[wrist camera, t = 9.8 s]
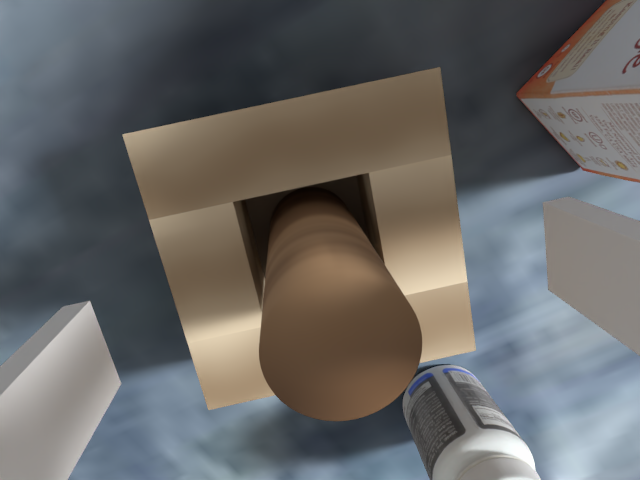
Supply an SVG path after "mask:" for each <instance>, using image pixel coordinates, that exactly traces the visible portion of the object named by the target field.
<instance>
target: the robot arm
mask: <svg viewBox="0 0 640 480" xmlns="http://www.w3.org/2000/svg"><path fill="white" fill-rule="evenodd" d="M543 212H544V227H545V243H546V259H547V275H548V290H549V291H551V292H552V293H554V294H555V295H556V296H558V297H559V298H561V299H562V300H563V301H565V302H566V303H567V304H569V305H570V306H572V307H573V308H574V309H576V310H577V311H579V312H580V313H581V314H583V315H584V316H585V317H587V318H588V319H590V320H591V321H592V322H594V323H595V324H596V325H598V326H599V327H601V328H602V329H603V330H605V331H606V332H608V333H609V334H610V335H612V336H613V337H614V338H616V339H617V340H619V341H620V342H621V343H623V344H624V345H626V346H627V347H628V348H630V349H631V350H632V351H634V352H635V353H637V354H638V355H639V356H640V221H638V220H635V219H632V218H629V217H626V216H623V215H620V214H617V213H615V212H612V211H609V210H606V209H603V208H600V207H597V206H594V205H592V204H589V203H586V202H583V201H580V200H577V199H574V198H571V197H565V198H561V199H556V200H551V201H547V202H543ZM120 385H121V381H120V379H119V376H118V374H117V371H116V368H115V366H114V363H113V360H112V358H111V355H110V352H109V350H108V347H107V345H106V342H105V339H104V337H103V334H102V331H101V329H100V326H99V323H98V321H97V318H96V316H95V313H94V310H93V308H92V305H91V302H90V301H86V302H81V303H77V304H72V305H67V306H63V307H62V308H61V309H60V310H59V311H58V312H57V313H56V314H55V315H54V316H53V317H51V318H50V319H49V320H48V321H47V322H46V323H45V324H44V325H43V326H42V327H41V328H40V329H39V330H38V331H37V332H36V333H35V334H34V335H33V336H32V337H31V338H29V339H28V340H27V341H26V342H25V343H24V344H23V345H22V346H21V347H20V348H19V349H18V350H17V351H16V352H15V353H14V354H13V355H12V356H11V357H10V358H9V359H8V360H6V361H5V362H4V363H3V364H2V365H1V366H0V480H68V478H69V476H70V474H71V472H72V471H73V469H74V467H75V465H76V463H77V462H78V460H79V458H80V456H81V455H82V453H83V451H84V449H85V447H86V446H87V444H88V442H89V440H90V439H91V437H92V435H93V433H94V431H95V430H96V428H97V426H98V424H99V422H100V421H101V419H102V417H103V415H104V414H105V412H106V410H107V408H108V406H109V405H110V403H111V401H112V399H113V398H114V396H115V394H116V392H117V390H118V389H119V387H120Z"/></svg>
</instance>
